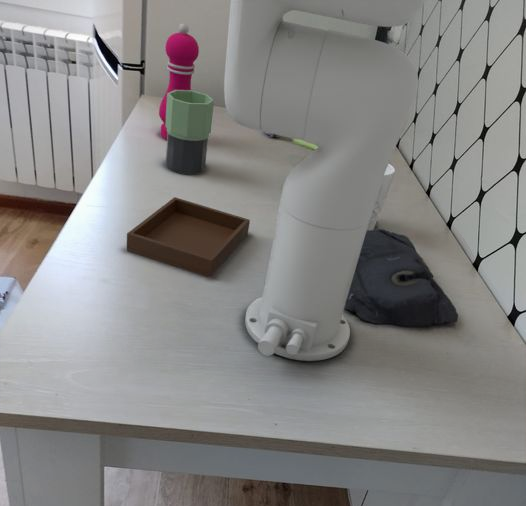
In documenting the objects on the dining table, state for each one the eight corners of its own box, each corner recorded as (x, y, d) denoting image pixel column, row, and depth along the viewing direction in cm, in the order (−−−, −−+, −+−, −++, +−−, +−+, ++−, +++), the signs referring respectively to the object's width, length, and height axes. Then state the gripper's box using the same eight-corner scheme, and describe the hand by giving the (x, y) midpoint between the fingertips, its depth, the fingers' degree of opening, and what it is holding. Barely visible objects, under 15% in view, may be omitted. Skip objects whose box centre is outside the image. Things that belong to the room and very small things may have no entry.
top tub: (198, 144, 98) (201, 106, 94) (159, 133, 99) (161, 95, 95) (215, 133, 103) (218, 97, 99) (178, 122, 104) (180, 87, 101)
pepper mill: (155, 129, 117) (160, 17, 105) (190, 131, 120) (199, 21, 108) (161, 142, 112) (167, 25, 100) (198, 144, 115) (208, 30, 102)
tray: (210, 277, 76) (212, 260, 75) (126, 250, 79) (126, 233, 77) (247, 235, 88) (250, 219, 86) (173, 212, 90) (174, 196, 88)
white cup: (376, 239, 93) (394, 179, 87) (328, 227, 94) (342, 167, 88) (378, 219, 100) (395, 162, 94) (333, 208, 100) (347, 151, 94)
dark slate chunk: (415, 249, 93) (425, 222, 90) (461, 332, 76) (475, 302, 73) (321, 238, 91) (328, 210, 88) (346, 322, 73) (356, 290, 70)
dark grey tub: (194, 177, 101) (197, 143, 98) (159, 167, 102) (160, 133, 99) (210, 166, 107) (213, 133, 103) (176, 156, 108) (178, 123, 104)
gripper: (344, -154, 76) (316, -3, 86) (477, -130, 73) (431, 24, 83) (357, -147, 82) (329, -6, 92) (481, -125, 78) (437, 19, 89)
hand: (378, 8), depth 88 cm, fingers open, 9 cm apart
